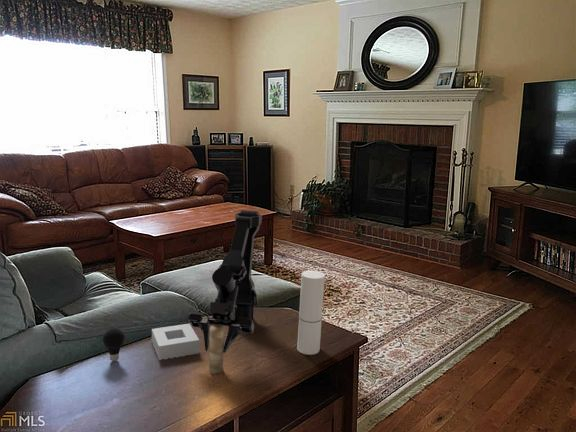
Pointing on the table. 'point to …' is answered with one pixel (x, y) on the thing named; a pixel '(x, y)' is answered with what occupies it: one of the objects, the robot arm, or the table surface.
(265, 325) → the table surface
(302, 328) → the cylindrical container
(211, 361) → the peg
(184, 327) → the socket block
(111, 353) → the light bulb
